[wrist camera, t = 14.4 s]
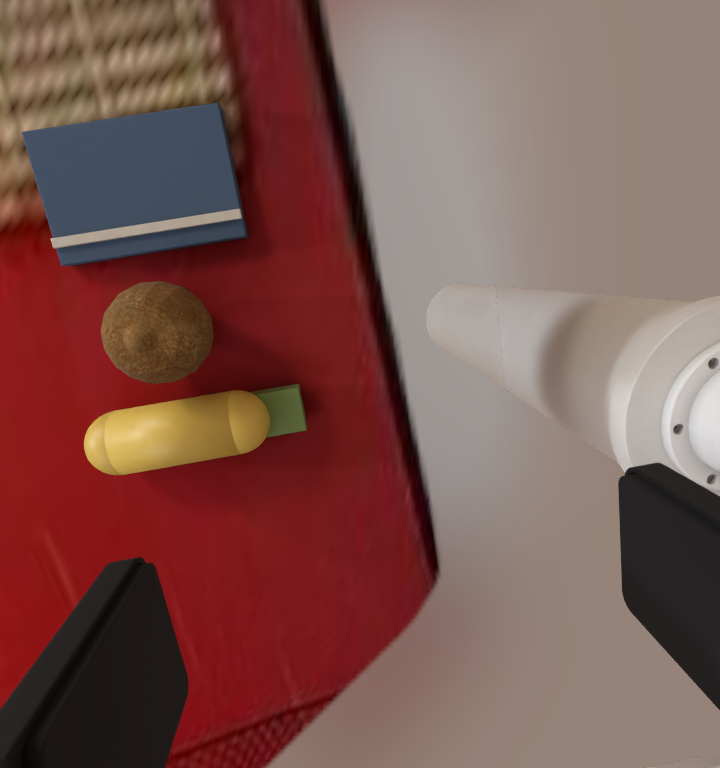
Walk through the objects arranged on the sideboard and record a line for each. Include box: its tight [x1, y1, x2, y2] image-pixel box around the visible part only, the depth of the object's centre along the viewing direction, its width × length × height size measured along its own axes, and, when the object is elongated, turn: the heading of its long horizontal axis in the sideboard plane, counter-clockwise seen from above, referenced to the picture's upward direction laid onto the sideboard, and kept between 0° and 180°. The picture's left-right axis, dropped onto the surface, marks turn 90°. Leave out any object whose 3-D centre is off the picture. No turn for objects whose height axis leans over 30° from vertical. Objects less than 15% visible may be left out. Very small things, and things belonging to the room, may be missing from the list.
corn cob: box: [84, 384, 307, 475], centre depth 33 cm, size 15×4×4 cm, turn 99°
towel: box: [22, 103, 248, 266], centre depth 31 cm, size 12×8×2 cm, turn 99°
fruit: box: [101, 281, 214, 384], centre depth 30 cm, size 6×6×8 cm
